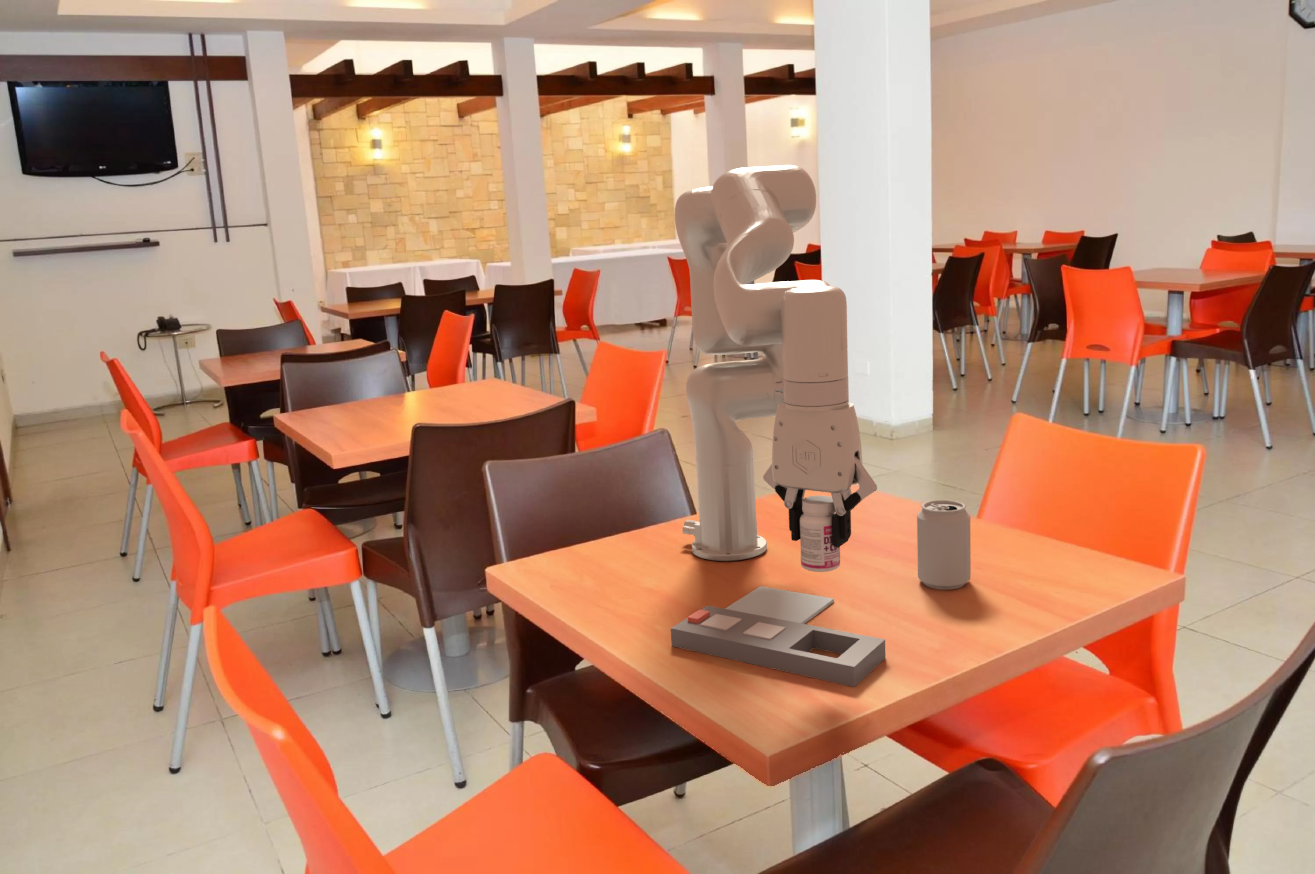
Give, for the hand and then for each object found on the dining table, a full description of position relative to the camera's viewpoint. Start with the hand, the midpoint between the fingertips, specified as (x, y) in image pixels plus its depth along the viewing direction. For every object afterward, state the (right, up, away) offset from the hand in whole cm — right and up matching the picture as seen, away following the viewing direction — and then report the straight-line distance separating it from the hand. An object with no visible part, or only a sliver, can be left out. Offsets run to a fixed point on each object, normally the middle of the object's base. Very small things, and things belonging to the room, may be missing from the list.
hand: (820, 539), depth 125 cm
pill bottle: (0, -4, +1) cm, 4 cm away
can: (+23, -9, +27) cm, 37 cm away
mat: (-3, -12, +21) cm, 24 cm away
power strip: (-5, -15, +7) cm, 17 cm away
